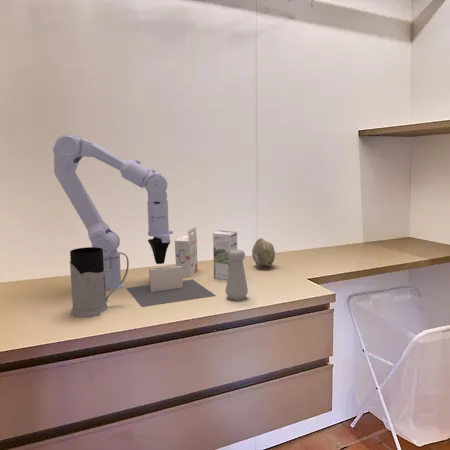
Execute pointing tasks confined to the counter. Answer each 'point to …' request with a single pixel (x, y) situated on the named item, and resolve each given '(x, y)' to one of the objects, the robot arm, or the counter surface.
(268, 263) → the rock
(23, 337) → the counter surface
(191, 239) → the ink cartridge box
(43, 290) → the counter surface
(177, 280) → the block
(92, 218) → the robot arm
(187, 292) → the mat
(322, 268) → the counter surface
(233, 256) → the salt shaker
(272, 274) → the counter surface
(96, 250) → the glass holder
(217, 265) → the syrup box
